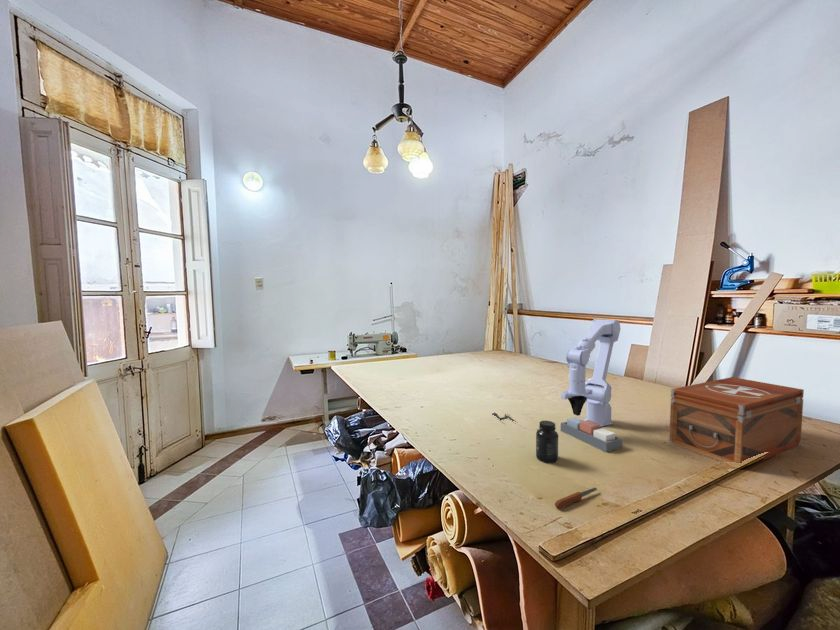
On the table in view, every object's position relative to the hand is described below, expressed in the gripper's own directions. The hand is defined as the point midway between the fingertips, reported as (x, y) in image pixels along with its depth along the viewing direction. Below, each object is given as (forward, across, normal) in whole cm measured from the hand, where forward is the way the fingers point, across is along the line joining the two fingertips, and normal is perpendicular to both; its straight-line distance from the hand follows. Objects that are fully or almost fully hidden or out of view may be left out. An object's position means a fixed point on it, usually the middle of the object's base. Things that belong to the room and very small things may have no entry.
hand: (576, 414), depth 130 cm
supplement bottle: (+7, -26, -11) cm, 29 cm away
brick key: (+4, 0, -6) cm, 7 cm away
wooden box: (+8, +43, -30) cm, 53 cm away
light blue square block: (+5, 0, 0) cm, 5 cm away
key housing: (+7, 0, -6) cm, 9 cm away
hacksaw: (+8, -15, +18) cm, 25 cm away
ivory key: (+5, 0, -12) cm, 13 cm away
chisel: (+7, -35, -32) cm, 48 cm away
